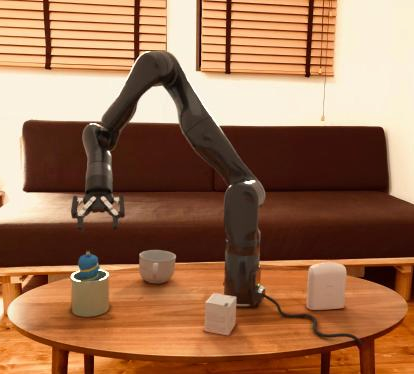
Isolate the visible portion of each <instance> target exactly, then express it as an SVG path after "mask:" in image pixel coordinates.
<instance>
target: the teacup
mask: <svg viewBox="0 0 414 374" xmlns="http://www.w3.org/2000/svg"><path fill="white" fill-rule="evenodd" d="M176 258H177V255H176V254H175V253H173V252H171V251H168V250H161V249H149V250H144V251H142V252H140V253H139V261H138V262H139V263H138V269H139V272H138V273H139V275H140V277H141V278H142V279H144V281H145V282H147V283H150V284H164V283H166V282H168V281H169V280H170V279H172V277H173V276H174V274H175V268H176V260H177V259H176Z"/></svg>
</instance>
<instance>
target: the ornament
mask: <svg viewBox="0 0 414 374" xmlns="http://www.w3.org/2000/svg"><path fill="white" fill-rule="evenodd" d="M77 266H78V268H79V271H80V277H81V279H82V281H96V280H98V279H99V275H98V272H99V269H100V268H101V267H100V263H99V258H98V256H96V255H95V254H92V253H91V252H90V251H86V252H85V254H83V255H81V256H80V257H79V258H78V262H77ZM100 270H101V269H100Z"/></svg>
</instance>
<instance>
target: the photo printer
mask: <svg viewBox="0 0 414 374" xmlns="http://www.w3.org/2000/svg"><path fill="white" fill-rule="evenodd" d="M346 289H347V269H346V266H344V264H342V263H339V262H331V261H326V262H319V263H315V264H313V265H310V266H309V267H308V272H307V288H306V308H307V309H308V310H309V311H323V310H324V311H325V310H337V309H343V308H344V309H345V301H346Z"/></svg>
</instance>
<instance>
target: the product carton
mask: <svg viewBox="0 0 414 374" xmlns="http://www.w3.org/2000/svg"><path fill="white" fill-rule="evenodd" d="M236 318H237V307H236V297H234V296H228V295H224V294H223V293H222V294H221V293H217V292H213V293H212V294H211V295H210V297H209V298H207V300H206V301H205V302H204V328H203V329H204V332H207V333H212V334H218V335H222V336H229V335H230V334H231V332H232V330H233V329H234V328H235V326H236V321H237V319H236Z"/></svg>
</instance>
